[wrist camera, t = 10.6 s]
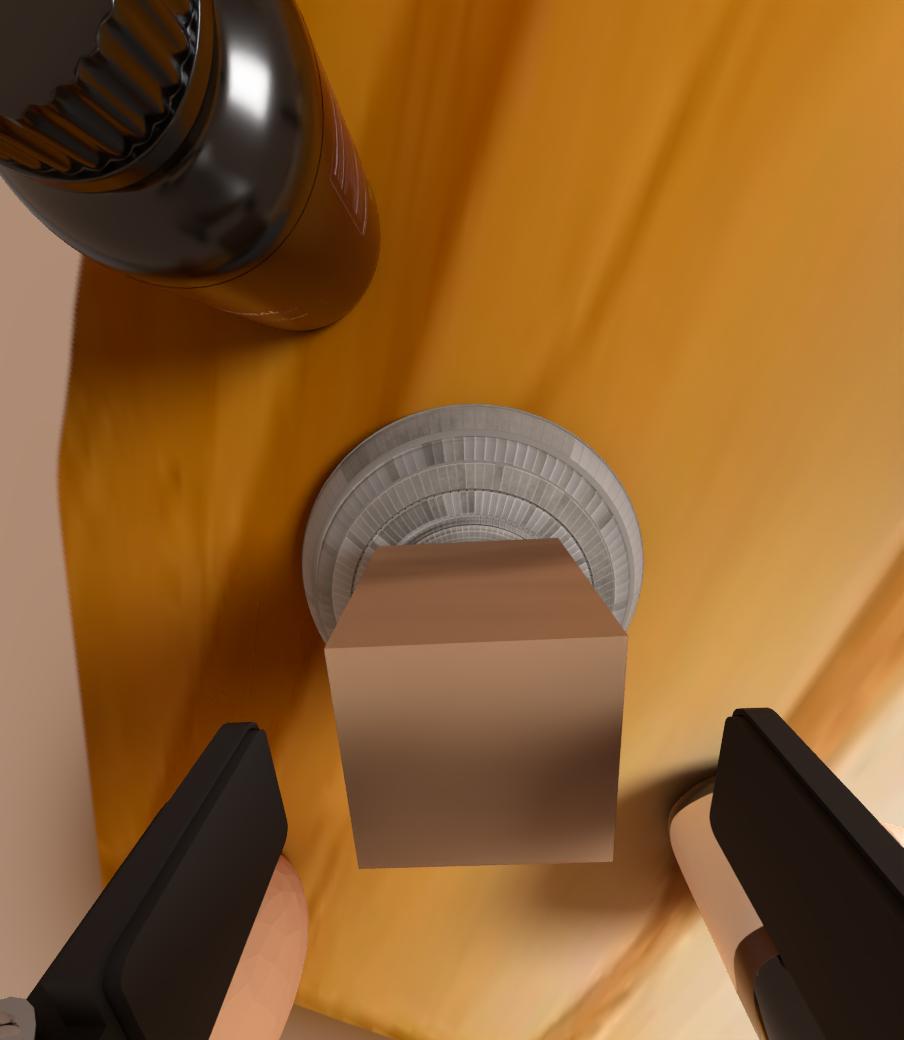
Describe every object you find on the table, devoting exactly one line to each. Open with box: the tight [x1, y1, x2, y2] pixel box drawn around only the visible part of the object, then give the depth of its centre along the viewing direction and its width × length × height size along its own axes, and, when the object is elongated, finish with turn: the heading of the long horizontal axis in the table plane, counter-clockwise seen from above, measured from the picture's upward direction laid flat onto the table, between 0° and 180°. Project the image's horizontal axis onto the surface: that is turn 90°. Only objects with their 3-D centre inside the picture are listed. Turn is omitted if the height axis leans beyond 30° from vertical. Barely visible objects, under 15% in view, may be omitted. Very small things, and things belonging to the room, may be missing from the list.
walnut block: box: [324, 538, 628, 869], centre depth 12 cm, size 6×6×6 cm
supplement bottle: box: [0, 0, 380, 331], centre depth 10 cm, size 7×7×12 cm
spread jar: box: [668, 776, 904, 1040], centre depth 18 cm, size 12×11×12 cm
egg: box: [209, 855, 308, 1040], centre depth 20 cm, size 8×8×11 cm
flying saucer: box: [302, 404, 643, 644], centre depth 18 cm, size 15×15×6 cm
